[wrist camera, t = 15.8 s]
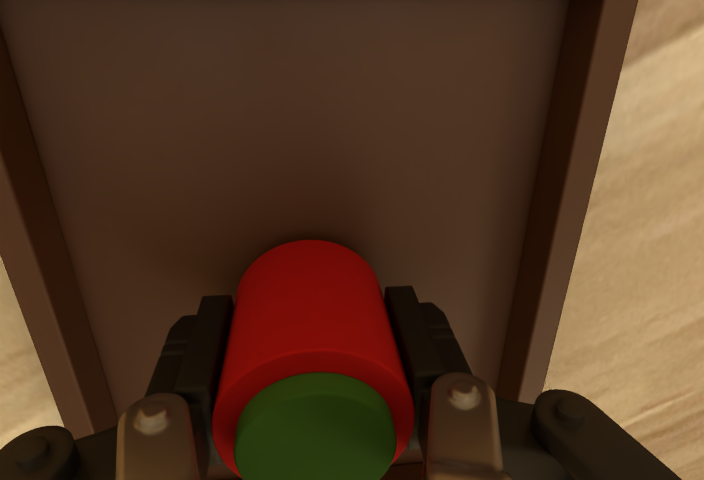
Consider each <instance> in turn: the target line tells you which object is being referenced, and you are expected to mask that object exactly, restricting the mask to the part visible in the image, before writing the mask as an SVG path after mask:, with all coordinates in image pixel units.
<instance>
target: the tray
mask: <svg viewBox="0 0 704 480" xmlns="http://www.w3.org/2000/svg"><path fill="white" fill-rule="evenodd" d="M637 3H638V0H0V255H1V257H2V260H3V263H4V265H5V268H6V271H7V273H8V276H9V279H10V282H11V284H12V287H13V290H14V292H15V295H16V298H17V300H18V303H19V306H20V308H21V311H22V314H23V316H24V319H25V322H26V325H27V327H28V330H29V333H30V335H31V338H32V341H33V343H34V346H35V349H36V351H37V354H38V357H39V359H40V362H41V365H42V368H43V370H44V373H45V376H46V378H47V381H48V384H49V386H50V389H51V392H52V394H53V397H54V400H55V402H56V405H57V408H58V411H59V413H60V416H61V419H62V421H63V424H64V427H65V428H66V429H68V430H69V431H70V432H71V433H72V435H73V438H74V440H76V439H79V438H82V437H85V436H88V435H92V434H95V433H98V432H101V431H104V430H107V429H109V428H112V427H114V426H116V425H118V422H119V419H120V417H121V416H122V414H123V413H124V412H125V410H126V409H127V408H128V407H129V406H131V405H132V404H133V403H135V402H136V401H138V400H140V399H142V398H144V396H145V394H146V391H147V388H148V386H149V383H150V380H151V378H152V375H153V372H154V370H155V367H156V364H157V362H158V359H159V356H161V351H162V348H163V346H164V345H165V341H166V338H167V335H168V333H169V330H170V328H171V327H172V326H173V325H174V324H175V323H176V322H177V321H178V320H179V319H180V318H181V317H182V316H185V315H197V312H198V309H199V306H200V302H201V299H202V297H203V296H212V295H231V296H232V299H233V305H234V304H235V299H236V294H237V290H238V286H239V283H240V281H241V279H242V277H243V275H244V274H245V272H246V271H247V269H248V268H249V267H250V266H251V265H252V263H253V262H254V261H256V260H257V259H258V258H259V257H260V256H262V255H263V254H265V253H266V252H268V251H269V250H271V249H273V248H275V247H277V246H280V245H283V244H286V243H290V242H294V241H300V240H321V241H328V242H332V243H336V244H339V245H341V246H344V247H346V248H348V249H350V250H352V251H353V252H355V253H356V254H358V255H359V256H360V257H362V258H363V259H364V260H365V261H366V262H367V263H368V264H369V266H370V267H371V268H372V269H373V271H374V273H375V275H376V276H377V279H378V281H379V284H380V287H381V291H382V294H383V298H384V292H385V287H391V286H413V288H414V291H415V293H416V296H417V298H418V301H419V303H426V302H432V303H433V304H435V305H436V306H437V307H438V308H439V309H440V310H442V311H443V312H444V313H445V315H446V318H447V320H448V322H449V324H450V328H452V330H453V333H454V335H455V338H456V339H457V341H458V343H459V346H460V348H461V350H462V352H463V354H464V356H465V358H466V361H467V363H468V365H469V367H470V369H471V371H472V374H473V376H476V377H478V378H480V379H481V380H483V381H484V382H486V383H487V384H488V385H489V386H490V388H491V389H492V390H493V392H494V395H496V396H498V397H501V398H504V399H507V400H512V401H517V402H523V403H529V404H535V401H536V398H537V397H538V396H539V395H540V394H541V393H542V390H543V386H544V382H545V378H546V374H547V370H548V366H549V361H550V357H551V353H552V349H553V345H554V341H555V337H556V333H557V329H558V325H559V321H560V317H561V313H562V308H563V304H564V300H565V296H566V292H567V288H568V284H569V280H570V276H571V272H572V268H573V264H574V260H575V256H576V251H577V247H578V243H579V239H580V235H581V231H582V227H583V223H584V219H585V215H586V211H587V207H588V203H589V198H590V194H591V190H592V186H593V182H594V178H595V174H596V170H597V166H598V162H599V158H600V154H601V150H602V146H603V141H604V137H605V133H606V129H607V125H608V121H609V117H610V113H611V109H612V105H613V101H614V97H615V93H616V89H617V84H618V80H619V76H620V72H621V68H622V64H623V60H624V56H625V52H626V48H627V44H628V40H629V36H630V31H631V27H632V23H633V19H634V15H635V11H636V7H637ZM423 463H424V459H423V456H422V452H421V449H417V450H408V447H407V446H406V447H405V449H404V450H403V452H402V453H401V455H400V456H399V457H398V458H397V459H396V460H395V461H394V462H393V463H392V464H391V465H390V467H389V469H388V470H387V472H386V473H385V474H384V475H383V476H382V477H381V479H380V480H422V473H423ZM206 480H243V479H242V478H241V477H240V476H238V475H237V474H236V473H234V472H233V471H232V470H231V469H230V468H229V467H228V466H227V465H226V464H225V463H224V461H223V462H222V465H220V466H209V467H208V472H207V478H206Z"/></svg>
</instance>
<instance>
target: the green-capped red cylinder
mask: <svg viewBox="0 0 704 480" xmlns="http://www.w3.org/2000/svg"><path fill="white" fill-rule="evenodd" d="M414 422H415V408H414V402H413V398H412V395H411V392H410V388H409V385H408V381H407V378H406V374H405V371H404V367H403V364H402V360H401V357H400V353H399V350H398V346H397V343H396V339H395V336H394V333H393V329H392V326H391V322H390V319H389V315H388V312H387V308H386V305H385V301H384V298H383V294H382V291H381V287H380V284H379V281H378V279H377V276H376V275H375V273H374V271H373V269H372V268H371V267H370V266H369V264H368V263H367V262H366V261H365V260H364V259H363V258H362V257H360V256H359V255H358V254H356V253H355V252H353V251H352V250H350V249H348V248H346V247H344V246H341V245H339V244H336V243H332V242H328V241H321V240H300V241H294V242H290V243H286V244H283V245H280V246H277V247H275V248H273V249H271V250H269V251H268V252H266V253H265V254H263V255H262V256H260V257H259V258H258V259H257V260H256V261H254V262H253V263H252V265H251V266H250V267H249V268H248V269H247V271H246V272H245V274H244V275H243V277H242V279H241V281H240V283H239V286H238V290H237V294H236V299H235V304H234V309H233V314H232V319H231V324H230V329H229V334H228V339H227V344H226V349H225V355H224V360H223V365H222V370H221V375H220V380H219V385H218V390H217V395H216V400H215V405H214V410H213V415H212V424H211V429H212V437H213V441H214V444H215V447H216V449H217V451H218V453H219V456H220V457H221V458H222V460H223V461H224V463H225V464H226V465H227V466H228V467H229V468H230V469H231V470H232V471H233V472H234V473H236V474H237V475H238V476H240V477H241V478H242V479H243V480H380V479H381V477H382V476H383V475H384V474H385V473H386V472H387V470H388V469H389V467H390V465H391V464H392V463H393V462H394V461H395V460H396V459H397V458H398V457H399V456H400V455H401V453H402V452H403V450H404V449H405V447H406V446H407V444H408V442H409V440H410V437H411V435H412V432H413V428H414Z"/></svg>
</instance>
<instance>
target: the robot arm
mask: <svg viewBox="0 0 704 480" xmlns="http://www.w3.org/2000/svg"><path fill="white" fill-rule="evenodd" d="M384 301H385V305H386V308H387V312H388V315H389V319H390V322H391V326H392V329H393V333H394V336H395V339H396V343H397V346H398V350H399V353H400V357H401V360H402V364H403V367H404V371H405V374H406V378H407V381H408V385H409V388H410V392H411V395H412V398H413V402H414V408H415V422H414V428H413V432H412V435H411V437H410V440H409V442H408V444H407V447H408V450H417V449H421V452H422V456H423V459H424V463H423V473H422V480H682V479H681V478H679V477H678V476H677V475H676V474H675V473H674V472H672V471H671V470H670V469H669V468H668V467H667V466H665V465H664V464H663V463H662V462H661V461H660V460H659V459H657V458H656V457H655V456H654V455H653V454H652V453H650V452H649V451H648V450H647V449H646V448H645V447H643V446H642V445H641V444H640V443H639V442H638V441H636V440H635V439H634V438H633V437H632V436H631V435H629V434H628V433H627V432H626V431H625V430H624V429H622V428H621V427H620V426H619V425H618V424H617V423H615V422H614V421H613V420H612V419H611V418H610V417H608V416H607V415H606V414H605V413H604V412H603V411H602V410H600V409H599V408H598V407H597V406H596V405H595V404H593V403H592V402H591V401H589V400H588V399H586V398H585V397H583V396H581V395H579V394H576V393H574V392H571V391H567V390H558V389H554V390H548V391H545V392H543V393H541V394H540V395H539V396H538V397H537V398H536V401H535V404H529V403H523V402H517V401H512V400H507V399H504V398H501V397H498V396H496V395H494V392H493V390H492V389H491V388H490V386H489V385H488V384H487V383H486V382H484V381H483V380H481V379H480V378H478V377H476V376H473V374H472V371H471V369H470V367H469V365H468V363H467V361H466V358H465V356H464V354H463V352H462V350H461V348H460V346H459V343H458V341H457V339H456V338H455V335H454V333H453V330H452V328H450V324H449V322H448V320H447V318H446V315H445V313H444V312H443V311H442V310H440V309H439V308H438V307H437V306H436V305H435V304H433V303H432V302H426V303H419V301H418V298H417V296H416V293H415V291H414V288H413V286H391V287H385V292H384ZM233 309H234V305H233V299H232V296H231V295H212V296H203V297H202V299H201V302H200V306H199V309H198V312H197V315H185V316H182V317H181V318H180V319H179V320H178V321H177V322H176V323H175V324H174V325H173V326H172V327H171V328H170V330H169V333H168V335H167V338H166V341H165V345H164V346H163V348H162V351H161V356H159V359H158V362H157V364H156V367H155V370H154V372H153V375H152V378H151V380H150V383H149V386H148V388H147V391H146V394H145V396H144V398H142V399H140V400H138V401H136V402H135V403H133V404H132V405H131V406H129V407H128V408H127V409H126V410H125V412H124V413H123V414H122V416H121V417H120V419H119V422H118V425H116V426H114V427H112V428H109V429H107V430H104V431H101V432H98V433H95V434H92V435H88V436H85V437H82V438H79V439H76V440H74V438H73V435H72V433H71V432H70V431H69V430H68V429H66V428H64V427H60V426H45V427H40V428H36V429H33V430H30V431H28V432H25V433H23V434H21V435H20V436H18V437H16V438H14V439H13V440H12V441H10V442H9V443H7V444H6V445H5V446H4V447H3V448H2V449H1V450H0V480H206V478H207V472H208V467H209V466H220V465H222V462H223V460H222V458H221V457H220V456H219V453H218V451H217V449H216V447H215V444H214V441H213V437H212V429H211V424H212V415H213V410H214V405H215V400H216V395H217V390H218V385H219V380H220V375H221V370H222V365H223V360H224V355H225V349H226V344H227V339H228V334H229V329H230V324H231V319H232V314H233Z"/></svg>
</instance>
